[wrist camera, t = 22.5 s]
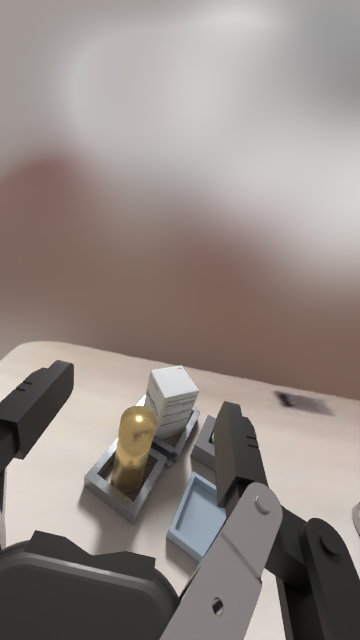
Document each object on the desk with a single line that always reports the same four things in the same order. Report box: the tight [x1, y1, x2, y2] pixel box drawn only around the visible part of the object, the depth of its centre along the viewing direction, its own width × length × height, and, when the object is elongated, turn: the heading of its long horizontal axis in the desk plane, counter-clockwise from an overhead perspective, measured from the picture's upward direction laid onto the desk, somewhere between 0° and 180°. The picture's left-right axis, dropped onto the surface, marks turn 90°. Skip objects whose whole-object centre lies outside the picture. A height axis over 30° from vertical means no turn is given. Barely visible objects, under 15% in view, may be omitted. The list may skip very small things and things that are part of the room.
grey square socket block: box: [190, 415, 216, 472], centre depth 43 cm, size 8×8×4 cm
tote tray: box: [166, 471, 226, 563], centre depth 33 cm, size 9×9×2 cm
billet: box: [112, 406, 157, 493], centre depth 33 cm, size 5×5×14 cm
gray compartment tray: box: [84, 395, 200, 524], centre depth 42 cm, size 12×23×2 cm, turn 155°
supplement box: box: [143, 366, 199, 440], centre depth 44 cm, size 7×7×13 cm
